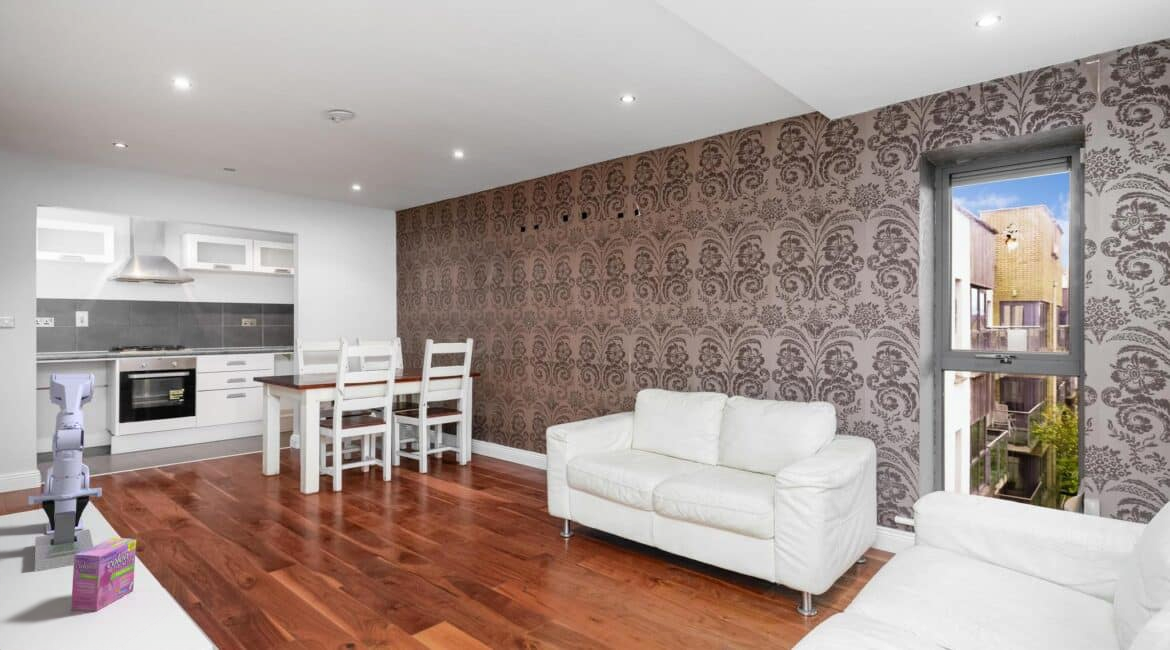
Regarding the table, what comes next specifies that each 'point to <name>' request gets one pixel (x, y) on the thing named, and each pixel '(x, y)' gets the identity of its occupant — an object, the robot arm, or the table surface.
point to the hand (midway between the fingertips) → (64, 527)
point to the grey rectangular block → (64, 527)
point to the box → (103, 574)
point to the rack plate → (59, 550)
